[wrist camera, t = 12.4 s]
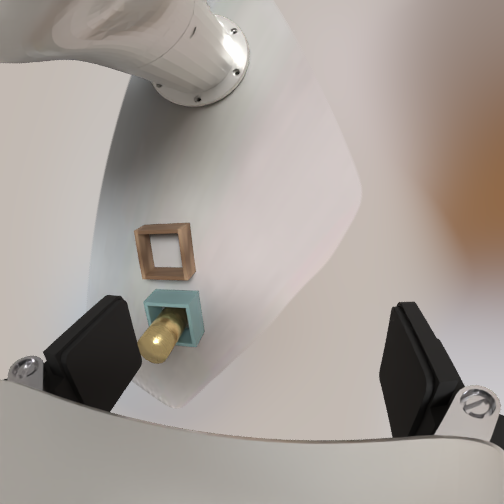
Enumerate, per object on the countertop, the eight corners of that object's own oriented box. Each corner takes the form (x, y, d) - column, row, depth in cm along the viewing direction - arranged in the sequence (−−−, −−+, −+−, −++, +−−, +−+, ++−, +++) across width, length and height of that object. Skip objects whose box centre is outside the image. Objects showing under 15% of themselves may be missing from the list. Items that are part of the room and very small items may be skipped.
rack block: (155, 289, 44) (143, 302, 40) (198, 290, 43) (188, 304, 39) (163, 328, 46) (153, 342, 42) (204, 331, 45) (196, 347, 41)
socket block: (144, 224, 41) (134, 230, 38) (189, 222, 40) (181, 229, 37) (151, 270, 43) (142, 279, 40) (195, 271, 42) (188, 280, 39)
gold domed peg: (165, 297, 44) (133, 334, 35) (191, 298, 43) (163, 338, 34) (169, 321, 45) (141, 361, 36) (194, 323, 44) (170, 365, 35)
